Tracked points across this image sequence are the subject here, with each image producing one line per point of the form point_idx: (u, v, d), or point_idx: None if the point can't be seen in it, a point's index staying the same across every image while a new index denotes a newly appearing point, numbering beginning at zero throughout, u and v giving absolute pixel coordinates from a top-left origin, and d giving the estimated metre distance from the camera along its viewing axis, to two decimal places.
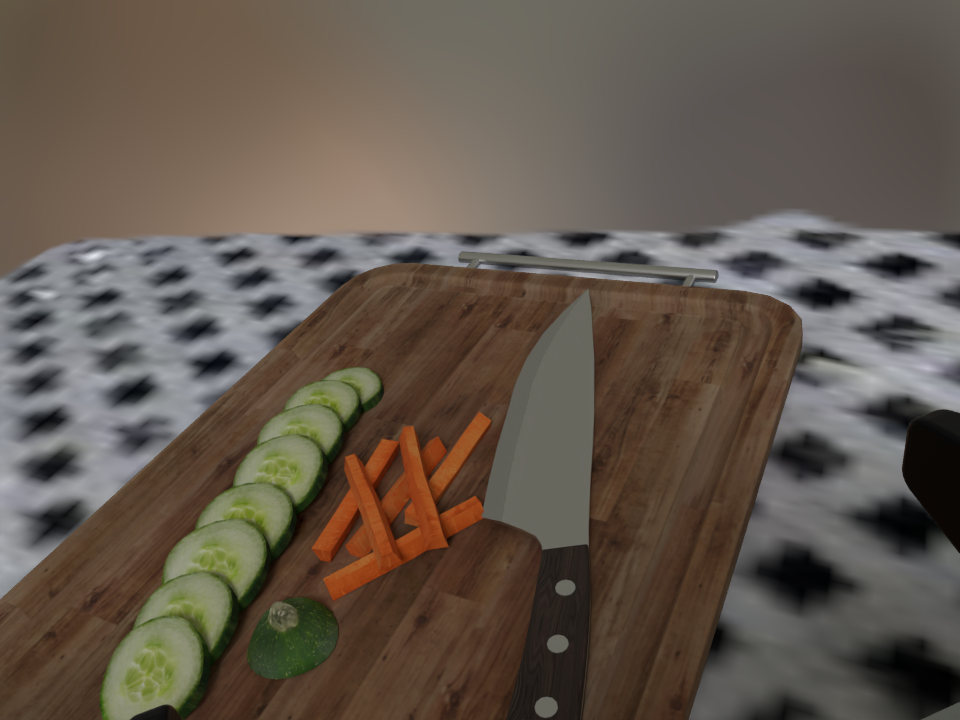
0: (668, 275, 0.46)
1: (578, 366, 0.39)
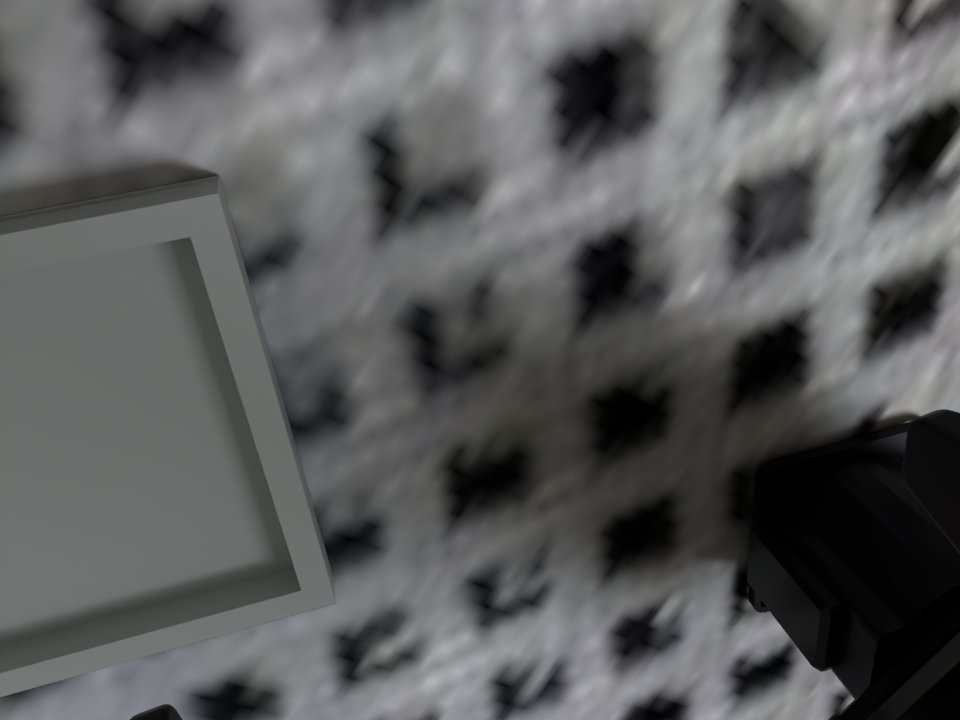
0: None
1: None
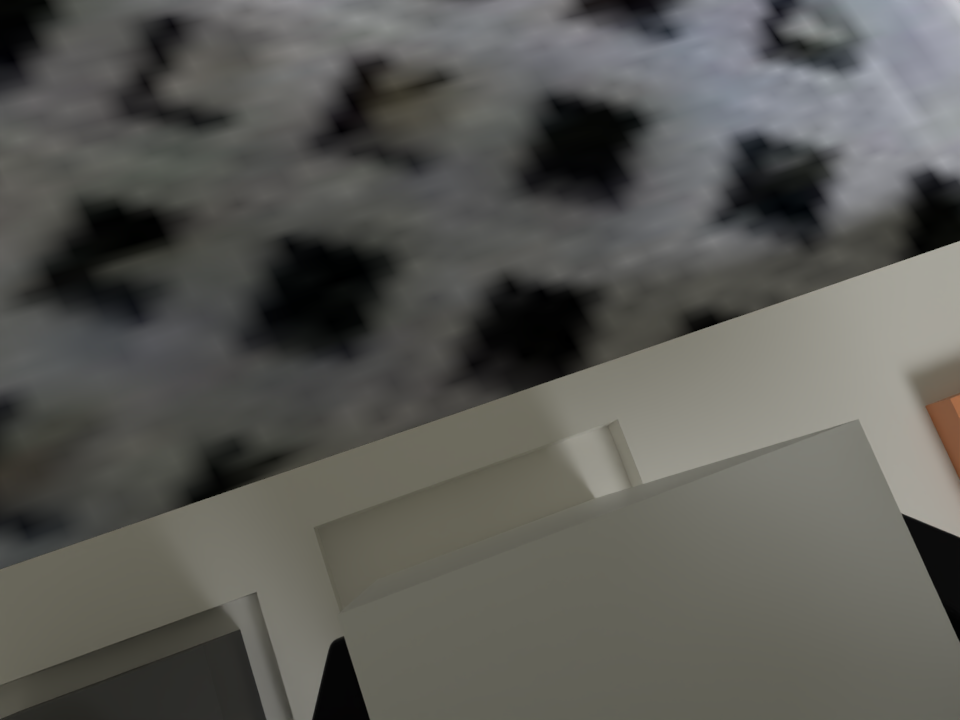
0: None
1: None
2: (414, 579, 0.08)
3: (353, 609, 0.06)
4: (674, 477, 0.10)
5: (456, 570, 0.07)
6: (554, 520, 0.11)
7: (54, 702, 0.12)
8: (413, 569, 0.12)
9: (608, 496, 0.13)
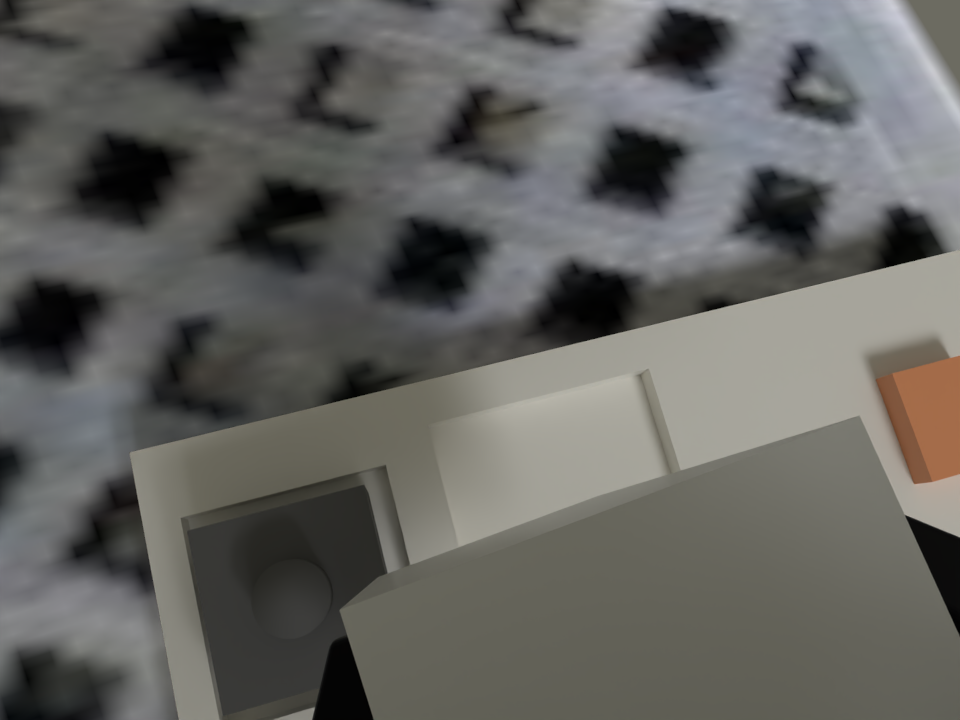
0: None
1: None
2: (416, 575, 0.08)
3: (355, 604, 0.06)
4: (675, 475, 0.10)
5: (458, 566, 0.07)
6: (555, 518, 0.11)
7: (266, 510, 0.19)
8: (414, 567, 0.13)
9: (608, 494, 0.13)
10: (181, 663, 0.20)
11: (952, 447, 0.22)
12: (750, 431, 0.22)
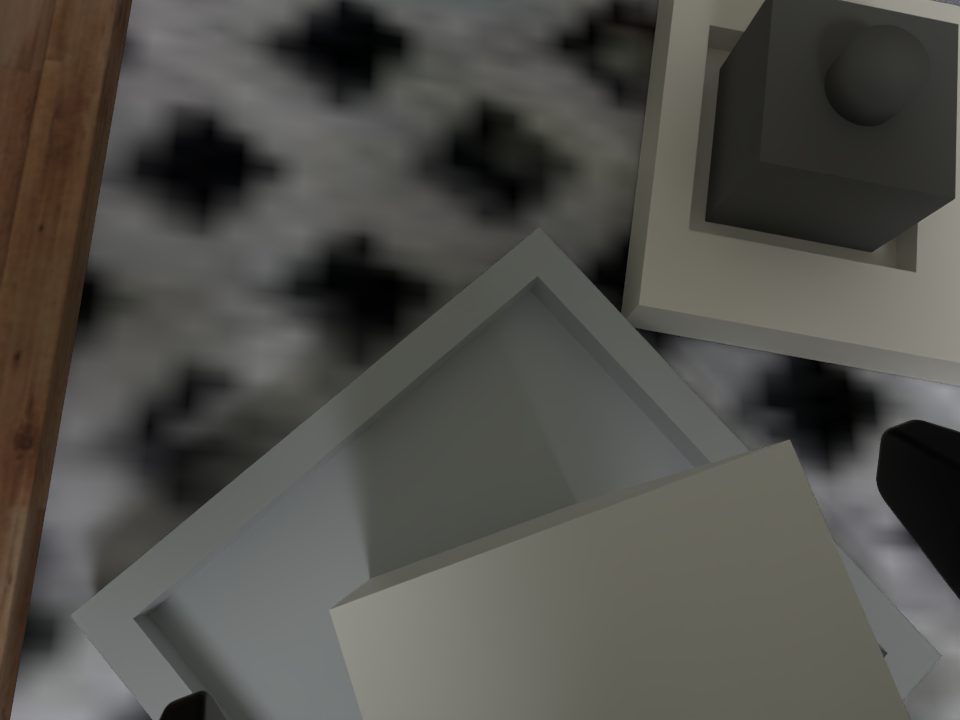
0: None
1: None
2: (398, 579, 0.09)
3: (343, 605, 0.07)
4: (639, 487, 0.11)
5: (433, 572, 0.07)
6: (530, 525, 0.12)
7: (855, 4, 0.17)
8: (401, 570, 0.13)
9: (584, 502, 0.14)
10: (670, 149, 0.18)
11: None
12: None
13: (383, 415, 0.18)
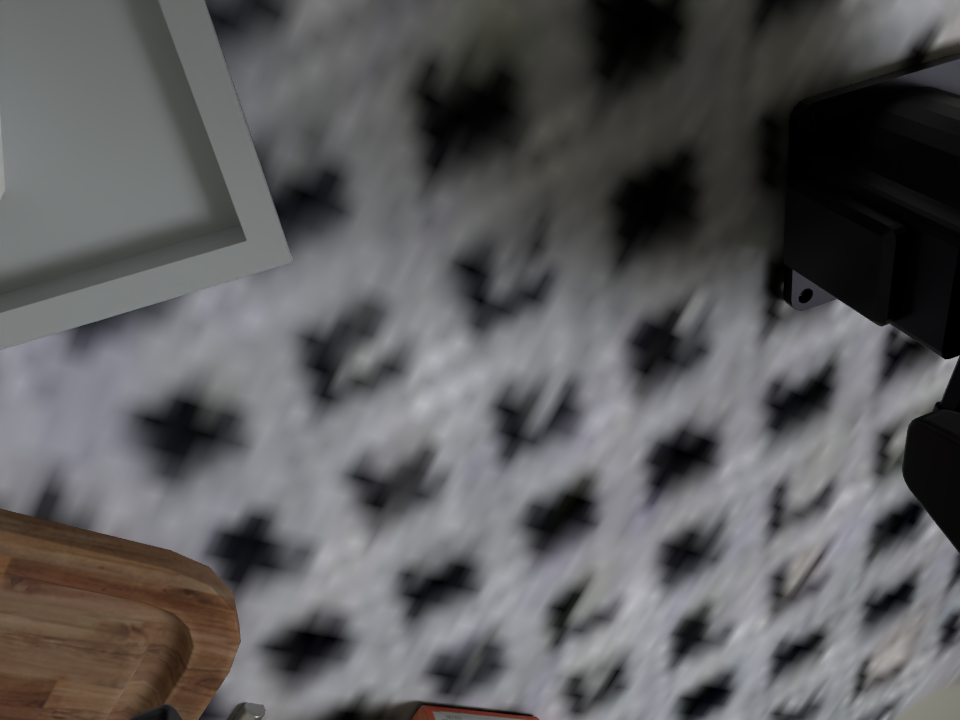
0: None
1: None
2: None
3: None
4: None
5: None
6: None
7: None
8: None
9: None
10: None
11: None
12: None
13: None
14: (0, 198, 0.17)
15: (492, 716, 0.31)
